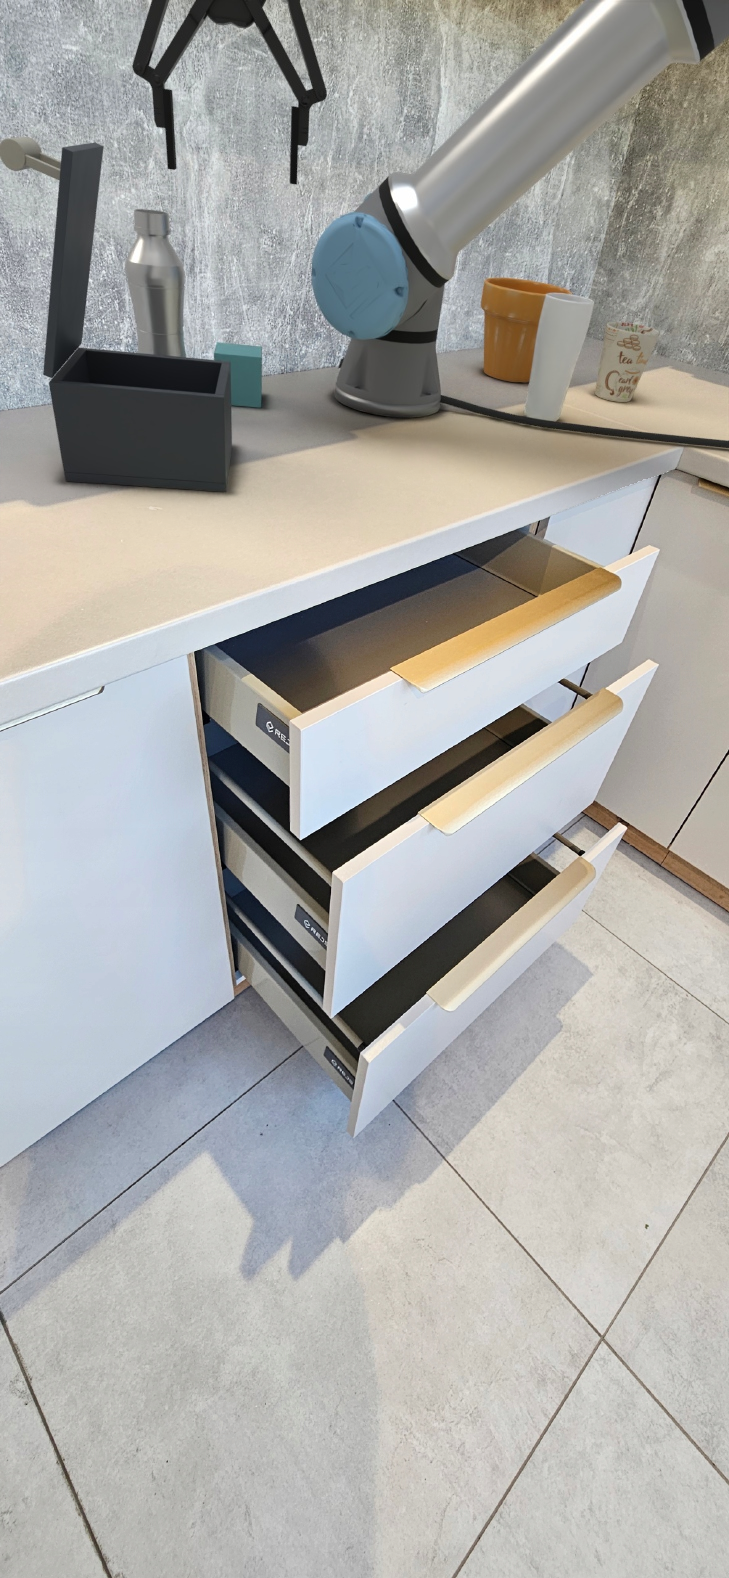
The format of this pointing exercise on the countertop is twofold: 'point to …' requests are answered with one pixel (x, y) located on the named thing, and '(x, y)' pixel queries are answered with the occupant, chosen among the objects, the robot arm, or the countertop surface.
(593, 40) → the robot arm
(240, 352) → the detergent carton
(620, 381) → the mug
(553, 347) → the drinking glass
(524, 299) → the flower pot
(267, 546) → the countertop surface
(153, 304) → the silver metal bottle
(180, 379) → the compartment
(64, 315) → the lid
